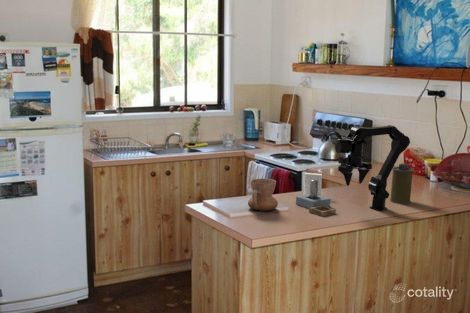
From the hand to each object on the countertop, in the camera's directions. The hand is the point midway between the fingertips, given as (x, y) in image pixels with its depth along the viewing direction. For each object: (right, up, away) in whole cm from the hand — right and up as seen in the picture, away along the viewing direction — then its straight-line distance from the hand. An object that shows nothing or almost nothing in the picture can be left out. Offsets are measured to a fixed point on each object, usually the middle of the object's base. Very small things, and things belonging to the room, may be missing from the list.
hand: (354, 184), depth 291 cm
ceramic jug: (-45, -12, -1) cm, 47 cm away
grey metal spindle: (-19, -11, +9) cm, 24 cm away
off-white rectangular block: (-17, -8, +29) cm, 34 cm away
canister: (+29, -10, +23) cm, 38 cm away
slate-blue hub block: (-19, -11, +9) cm, 24 cm away
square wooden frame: (-16, -13, -4) cm, 21 cm away
